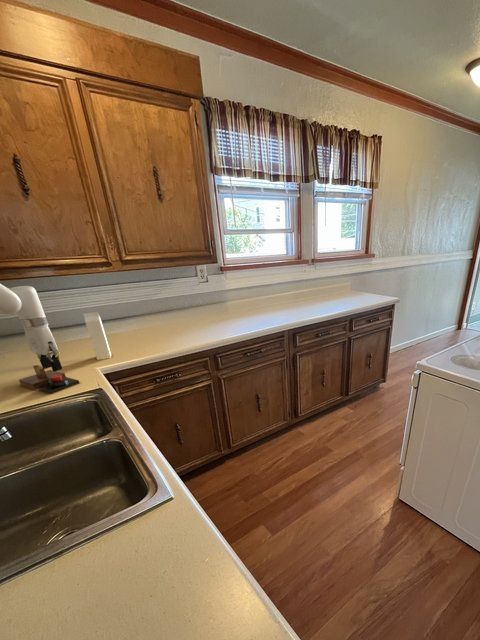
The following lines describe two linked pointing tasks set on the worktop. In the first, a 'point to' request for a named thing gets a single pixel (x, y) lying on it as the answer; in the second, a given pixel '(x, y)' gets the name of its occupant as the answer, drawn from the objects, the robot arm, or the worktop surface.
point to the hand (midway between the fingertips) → (52, 368)
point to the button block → (58, 385)
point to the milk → (97, 335)
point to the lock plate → (38, 380)
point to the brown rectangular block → (40, 371)
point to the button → (56, 378)
